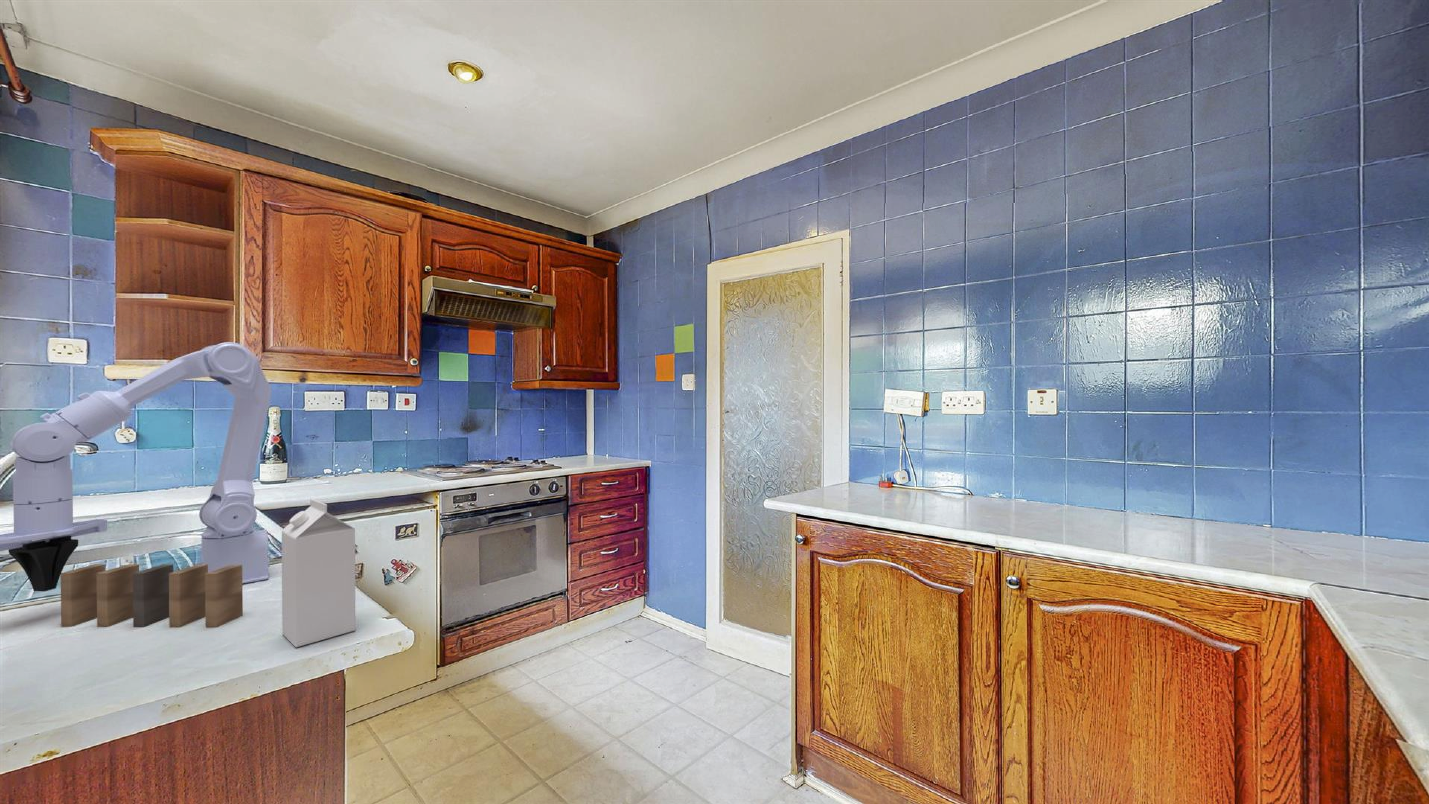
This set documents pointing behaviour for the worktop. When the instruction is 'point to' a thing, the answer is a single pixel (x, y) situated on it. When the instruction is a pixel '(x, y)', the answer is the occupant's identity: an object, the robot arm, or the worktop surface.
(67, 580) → the domino
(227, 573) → the domino
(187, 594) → the domino
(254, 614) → the worktop surface
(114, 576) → the domino
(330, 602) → the milk carton
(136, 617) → the ebony domino
